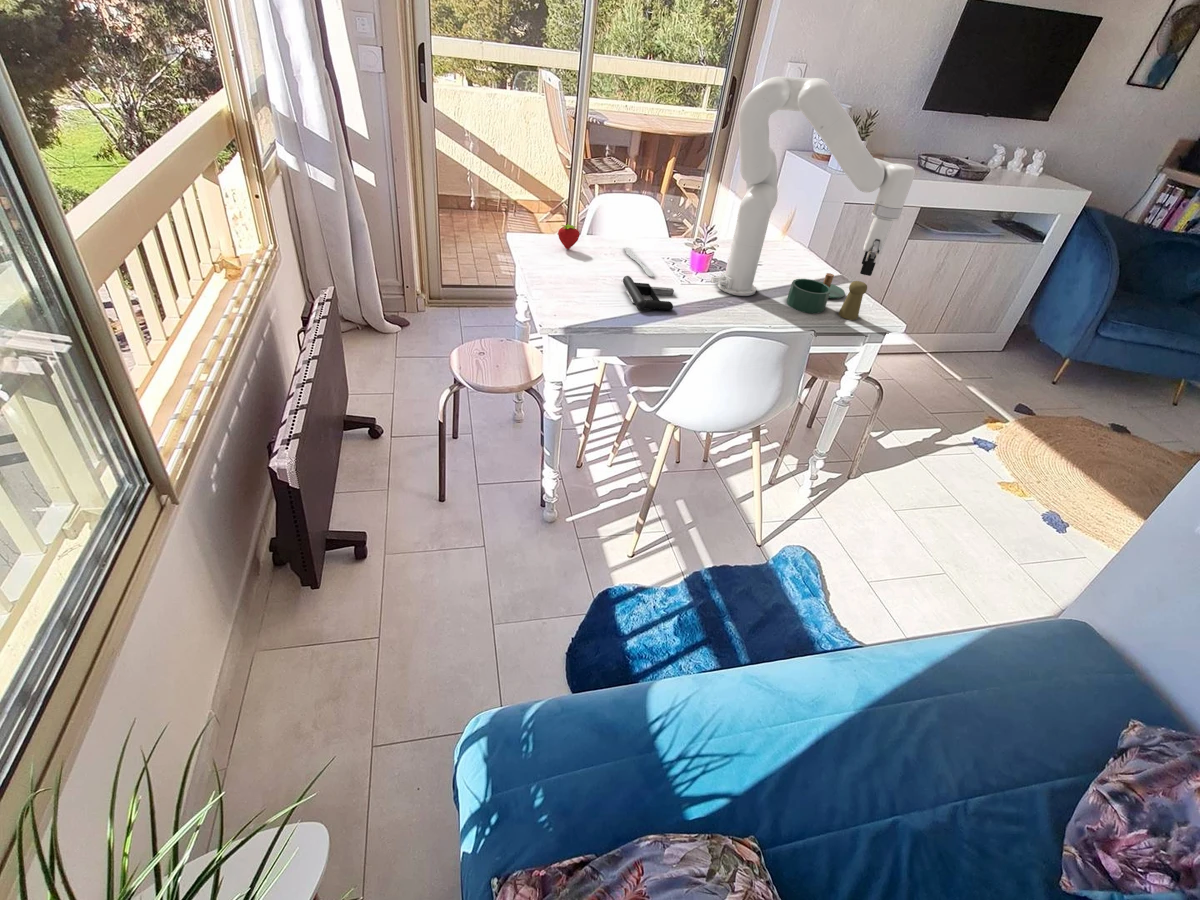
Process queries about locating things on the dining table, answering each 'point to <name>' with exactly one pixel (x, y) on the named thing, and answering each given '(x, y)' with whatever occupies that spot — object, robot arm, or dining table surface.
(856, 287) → the olive tapered upright piece
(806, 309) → the pot
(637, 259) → the butter knife
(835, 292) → the pot lid
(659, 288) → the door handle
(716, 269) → the dining table surface
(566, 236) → the strawberry
